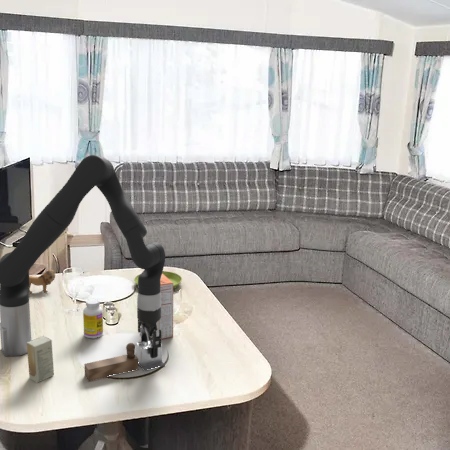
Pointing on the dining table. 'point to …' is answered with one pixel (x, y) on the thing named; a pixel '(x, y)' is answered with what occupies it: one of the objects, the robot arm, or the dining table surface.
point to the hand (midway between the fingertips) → (149, 352)
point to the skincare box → (40, 359)
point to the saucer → (170, 275)
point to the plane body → (112, 365)
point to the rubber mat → (153, 365)
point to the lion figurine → (42, 279)
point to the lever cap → (147, 353)
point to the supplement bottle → (93, 319)
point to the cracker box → (166, 308)
